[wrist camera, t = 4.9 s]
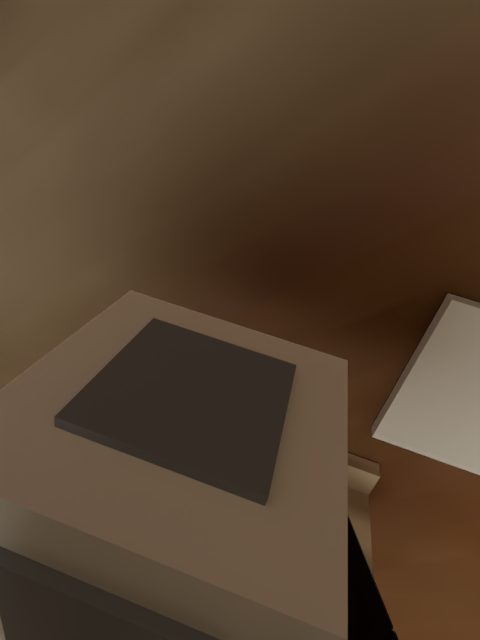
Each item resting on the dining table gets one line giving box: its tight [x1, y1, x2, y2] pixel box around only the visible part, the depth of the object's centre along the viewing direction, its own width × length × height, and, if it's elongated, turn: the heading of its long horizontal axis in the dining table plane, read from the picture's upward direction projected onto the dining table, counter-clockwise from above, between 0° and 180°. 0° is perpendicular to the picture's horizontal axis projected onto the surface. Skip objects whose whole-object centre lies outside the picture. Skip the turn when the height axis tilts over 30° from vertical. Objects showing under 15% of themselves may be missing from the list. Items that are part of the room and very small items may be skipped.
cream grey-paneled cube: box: [0, 290, 348, 640], centre depth 8 cm, size 6×6×6 cm
